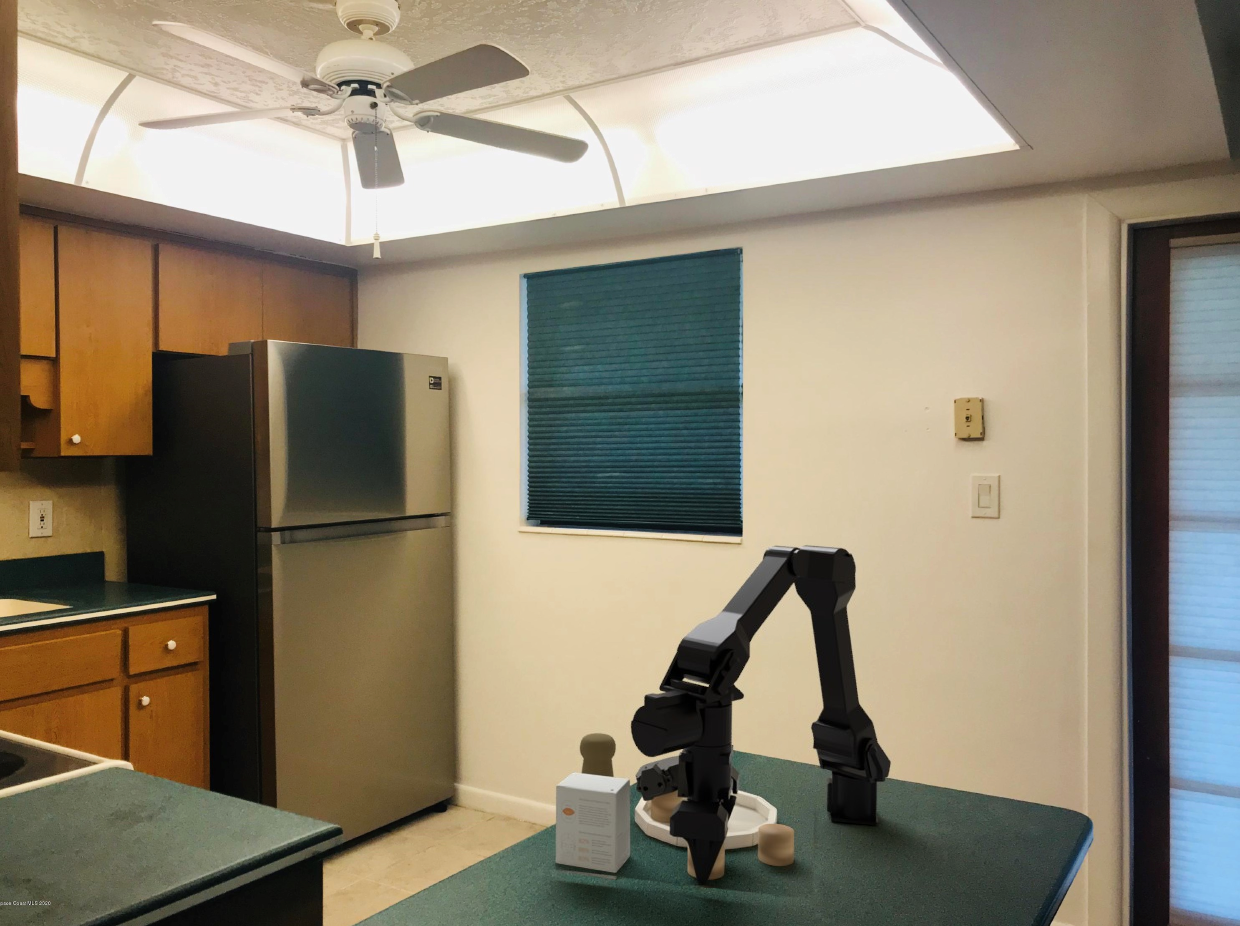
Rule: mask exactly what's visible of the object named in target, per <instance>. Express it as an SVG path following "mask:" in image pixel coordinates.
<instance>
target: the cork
mask: <svg viewBox="0 0 1240 926" xmlns="http://www.w3.org/2000/svg"><path fill="white" fill-rule="evenodd" d="M616 746H617V744H616V741H615V739H614V738H613V736H612V735H609V734H606V733H601V732H599V733H597V732H596V733H595V732H594V733H588V734H586V735H584V736H583V737H582V739H581V740H580V744H579V753H580V755H581V757H582V758H583V760H582V766H581V773H582V774H591V775H599V776H608V777H615V776H614V767H613V758H614V757H615V754H616V751H617V749H616V748H617V747H616Z"/></svg>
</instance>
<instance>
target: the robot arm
mask: <svg viewBox="0 0 1240 926" xmlns="http://www.w3.org/2000/svg"><path fill="white" fill-rule="evenodd" d="M856 573H857V566H856V562H855V558H854V556H853V554H852V553H850V552H849V551H848V550H847V549H846V548H842V547H833V546H832V547H831V546H821V545H820V546H819V545H808V544H806V545H803V546H801V547H797V546H786V545H784V546H783V545H773V546H770V547H768V548H767V549H766V550H765V551H764V552H763V556H762V560H761V561H760V563H759V564H758V565H757V566H756V568H755V569H754V570H753V572H751V574H750V575H749V577H748V578H747V579H746V580H745V582H744V583H743V584H742V585H741V586H740V588H739V589H738V590H737V592H736V593H734V595H733V596H732V598H731V599H730V600H729V601H728V602H727V604H726V605H725V606H724V607H723V609H722V610H721V611H720V612H719V613H718V614H717V615H716V616H713V617H712V618H709V619H707V620H705V621H703V622H701V623H698V624H697V625H696V626H695V627H694V628H693V629H692V630H690V631H689V632H688V633H687V634H686V635H685V636H684V637H683V638H681V641H680V643H679V644H678V646H677V648H676V652H675V654H674V656H673V658H672V660H671V662H670V665H669V667H668V668H667V670H666V673H665V674H664V677H663V679H662V681H661V683H660V685H659V688H658V689H659V691H660V693H652V692H651V693H648V694H645V695H644V696H643V697H644V699H643V701H644V702H643V705H641V706H640V707H638V708H637V709H636V710H635V713H634V715H633V718H632V720H631V722H630V733H631V737H632V738H631V739H632V740H633V742H634V743H633V744H634V745H635V748H637V749H638V751H639V752H640V753H641V754H642V755H644V756H645V757H648V758H655V757H659V756H663V755H666V754H669V753H670V754H671V753H674V752H677V751H680V752H679V754H678V755H676V756H675V755H674V756H669V757H666V758H662V759H659V760H655V761H651V762H648V763H646V764H644V765H641V766H640V767H639V769H638V771H637V772H636V773H635V780H636V788H635V789H636V791H637V792H638V793H640V794H641V798H642V797H643V800H644V801H649V800H653V799H654V797H658V796H661V795H665V794H669V793H672V792H675V791H677V790H678V795H677V797H683V798H687V800H688V801H684V800H682V801H681V802H680V803H679V804H678V805H677V806H676V807H675V808H674V810H673V812H672V814H671V816H670V835H672V836H673V837H681V838H683V839H684V840H686V841H687V843H688V846H689V849H690V853H691V857H692V862H693V866H694V870H695V875H696V883H698V884H703V885H706V884H707V883H708V881H709V880H708V879H709V877H710V874H711V872H712V869H713V867H714V864H715V862H716V860H717V857H718V855H719V852H720V850H721V848H722V845H723V843H724V840H725V838H726V835H727V832H728V821H729V819H730V816H731V813H732V811H733V808H734V806H735V802H736V799H737V797H736V796H734V795H731V791H732V792H733V794H737V793H738V790H739V791H740V773H739V771H738V770H737V769H736V768H735V767H734V765H732V758H733V756H734V744H732V742H733V741H732V740H733V739H732V738H733V737H732V735H733V733H732V732H733V702H735V701H740V700H743V699H744V697H745V694H744V693H743V691H742V690H740V688H738V687H737V686H736V685H735V683H736V682H738V680H739V678H740V676H741V675H742V673H743V671H744V669H745V667H746V666H747V664H748V662H749V660H750V657H751V641H752V639H753V638H754V637H755V635H756V633H757V632H758V631H759V629H760V628H761V626H762V625H764V623H765V622H766V620H767V619H768V617H769V616H770V615H771V613H772V612H773V611H774V610H775V609H776V607H777V605H778V604H779V603H780V602H781V600H783V597H785V595H786V594H787V593H788V591H789V590H790V588H791V587H792V586H793V585H794V588H795V591H796V594H797V595H798V597H799V598H800V599H801V601H802V602H803V604H804V605H805V607H806V608H807V609H808V610H809V613H810V617H811V626H812V633H813V640H814V647H815V648H814V649H815V655H816V662H817V669H818V676H819V677H818V678H819V682H820V683H819V684H820V690H821V698H822V706H823V707H822V709H821V712H820V714H819V715H818V718H817V719H816V721H814V722H812V723H811V726H810V729H811V733H812V737H813V743H812V744H813V746H812V748H813V749H814V750H816V754H817V759H818V762H819V766H820V767H819V768H820V769H821V770H827V771H830V772H831V777H829V778H827V779H826V783H827V785H826V812H827V813H830V816H829V820H830V821H831V822H837V823H850V824H859V825H860V824H861V825H869V826H878V825H879V819H878V812H877V809H878V782H879V783H883V782H886V778H888V777H889V774H890V770H891V769H890V768H891V764H892V762H891V760H890V758H889V757H888V755H887V754H886V752H885V751H884V750H883V748H882V746H881V745H880V743H879V742H878V737H877V734H876V730H875V725H874V722H873V720H872V719H871V717H869V715H868V713H867V712H866V711H865V709H864V707H862V705H861V704H860V701H859V700H860V699H859V693H858V685H857V684H858V683H857V678H856V677H857V676H856V671H855V670H856V669H855V663H854V662H855V661H854V655H853V653H854V652H853V648H852V647H853V646H852V638H851V631H850V624H849V616H848V604H849V602H850V600H851V598H852V597H853V595H854V592H855V591H856V585H857V583H856V582H857V581H856ZM684 679H686V680H688V681H686V680H684ZM691 681H692V682H691ZM694 682H696V683H694ZM697 683H698V684H697ZM699 683H700V684H699ZM702 684H704V685H702ZM706 685H708V686H706Z"/></svg>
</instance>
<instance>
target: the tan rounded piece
mask: <svg viewBox="0 0 1240 926" xmlns="http://www.w3.org/2000/svg"><path fill="white" fill-rule="evenodd" d="M725 851H726V849H725V842H724V843H723V845H722V848H721V850H720V852H719V855H718V857H717V860H716V862H715V864H714V867H713V869H712V872H711V874H710V877H709V879H708V881H709V880H716V879H717V880H718V879H720V878H722V877H723V876H724V875H725V853H726V852H725ZM687 873H688V875H690V876H691V877H693V878H696V875H695V870H694V866H693V862H692V857H691V853H690V849H689V846H688V847H687ZM697 886H699V887H698V888H701V887H704V889H714V888H715V887H714V886H706V885H697ZM697 886H696V887H697Z"/></svg>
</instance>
